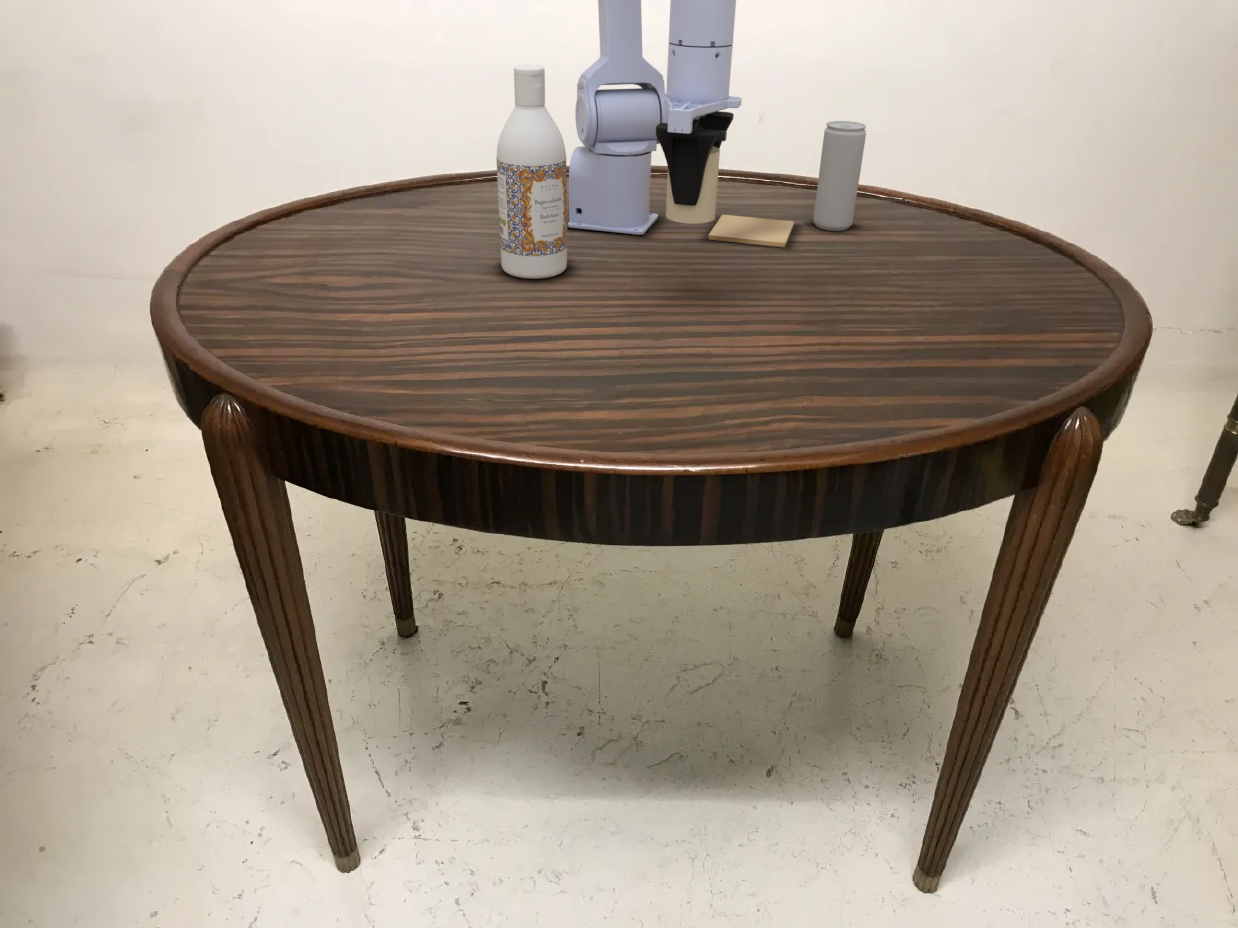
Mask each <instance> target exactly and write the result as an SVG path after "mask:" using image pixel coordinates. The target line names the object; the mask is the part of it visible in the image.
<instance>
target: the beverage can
mask: <svg viewBox="0 0 1238 928" xmlns="http://www.w3.org/2000/svg"><path fill="white" fill-rule="evenodd" d="M825 126H826V127H825V128H824V132H823V140H822V148H821V156H820V163H819V171H818V179H817V187H816V196H815V203H814V211H813V219H812V222H813V224H814V225H815V227H816V228H818V229H820V230H824V231H829V232H842V231H846V230H848V229H849V228H850V227H851V226H852V225H853V223H854V222H853V221H854V215H855V209H856V202H857V198H858V197H857V196H858V189H859V183H860V177H861V170H862V164H863V157H864V150H865V144H866V138H867V131H866V130H865V129H866V128H867V125H866V124H865V123H863V122H858V121H851V120H832V121H828V122H826V125H825Z"/></svg>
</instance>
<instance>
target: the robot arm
mask: <svg viewBox="0 0 1238 928" xmlns="http://www.w3.org/2000/svg"><path fill="white" fill-rule="evenodd" d="M669 1H670V3H669V23H668V24H669V27H668V47H667V49H668V50H667V67H666V69H667V70H666V71H667V72H666V86H665V80H664V75H663V74H662V73H661V71H659V70H658V69H657V68H656V67H654V66H653V65H652V64H651V63H650V62H648V61H647V60H646V59H645V58H644V55H643V26H642V21H643V20H642V0H597V8H598V32H599V33H598V34H599V57H598V59H597V60H596V61H594V62H593V63H592V64H591V65H590V66H589V67H588V68H586V69H585V70H584V71H583V72H582V73H581V74H580V76H579V78H578V80H577V83H576V102H575V111H574V112H575V113H574V115H575V127H576V133H577V138H578V140H579V141H580V142H581V143H582V145H581V146H580V145H579V146H575V148H574V150H573V151H572V154H571V156H570V160H569V161H570V162H569V168H568V221H567V228H569V229H570V228H571V229H579V230H590V231H600V232H608V233H619V234H627V235H628V234H629V235H636V236H637V235H638V236H642V235H645V233H646V232H647V231H648V230H649V229H650V228H651V227H652V225H653V224H654V223H655V222H656V221H657V220H658V218H659V214H658V213H653V212H650V208H651V207H650V202H651V177H652V173H651V172H652V152H657V147H658V146H657V145H660V147H661V149H662V152H663V155H664V158H665V161H666V165H667V172H668V171H669V177H670V183H671V190H672V196H673V200H674V204H679V205H689V206H695V205H696V204H697V202H698V199H699V196H700V192H701V187H702V182H703V177H704V172H705V167H706V164H707V160H708V157H709V154H710V151H711V149H712V147H713V146H714V147H717V148H718V149H719V150H721V146H722V143H723V141H716V139H717V137H718V135H719V133H720V131H716V130H722V131H727V132H728V130H729V127H730V126H731V124H732V123H733V121H734V118H735V117H734V115H735V114H734V113H733V112H730V111H724V110H727V109H739V108H740V107H741V106H742V100H743V98H742V97H740V96H732V95H730V85H731V75H732V73H731V71H732V59H733V49H734V46H733V44H734V34H735V33H734V32H735V22H736V21H735V20H736V9H737V7H736V6H737V0H669ZM620 85H621V86H625V85H634V86H639V87H637V88H607V89H599V88H600V87H602V86H620ZM665 87H666V90H665ZM702 128H704V129H709V130H703V129H702Z"/></svg>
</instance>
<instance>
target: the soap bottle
mask: <svg viewBox="0 0 1238 928" xmlns="http://www.w3.org/2000/svg"><path fill="white" fill-rule="evenodd" d="M702 129H703V130H709V129H704V128H702ZM716 131H720V133H719V135H718V137H717V139H716V141H722V142H726V140H727V138H728V137H727V135H728V130H727V131H722V130H716ZM720 155H721V149H718V148H717V147H714V146H713V147H712V149H711V151H710V154H709V157H708V160H707V164H706V167H705V172H704V177H703V182H702V187H701V192H700V196H699V199H698V202H697V204H696V205H695V206H689V205H679V204H674V200H673V196H672V190H671V183H670V177H669V171H668V170H667V178H666V179H667V180H666V185H667V186H666V200H665V201H666V202H665V218H666V219H667V220H670V221H672V222H675V223H679V224H687V225H699V224H700V225H701V224H706V223H707V224H708V223H710V222H713V221H714V220H715V219H716V210H717V196H718V182H719V170H720V169H719V167H720Z"/></svg>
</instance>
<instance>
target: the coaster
mask: <svg viewBox="0 0 1238 928" xmlns="http://www.w3.org/2000/svg"><path fill="white" fill-rule="evenodd" d="M794 227H795V221H794V220H782V219H774V218H773V219H772V218H761V217H752V216H742V215H741V216H740V215H733V214H721V216H720V217H719V219H718V221H717V222H716V223H715V224H714V226H713V227H712V229H711V231H710V232H709V234H708V237H707V238H708V239H707V240H709V241H716V242H717V241H720V242H726V243H728V242H729V243H735V244H736V243H739V244H746V245H747V244H748V245H757V246H765V247H775V248H776V247H777V248H786V246H787V243H788V241H789V239H790V236H791V235H792V232H793V229H794Z"/></svg>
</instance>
